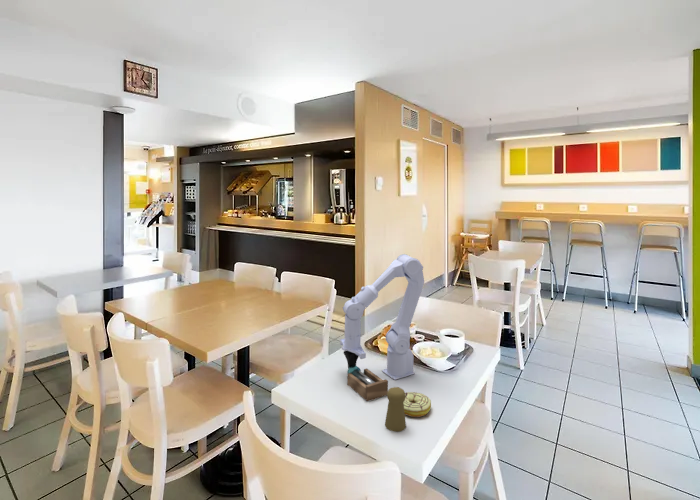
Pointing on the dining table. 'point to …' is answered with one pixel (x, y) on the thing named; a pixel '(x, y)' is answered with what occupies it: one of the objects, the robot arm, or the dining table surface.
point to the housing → (368, 386)
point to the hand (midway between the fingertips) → (352, 370)
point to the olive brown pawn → (395, 410)
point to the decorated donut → (416, 404)
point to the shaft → (359, 375)
